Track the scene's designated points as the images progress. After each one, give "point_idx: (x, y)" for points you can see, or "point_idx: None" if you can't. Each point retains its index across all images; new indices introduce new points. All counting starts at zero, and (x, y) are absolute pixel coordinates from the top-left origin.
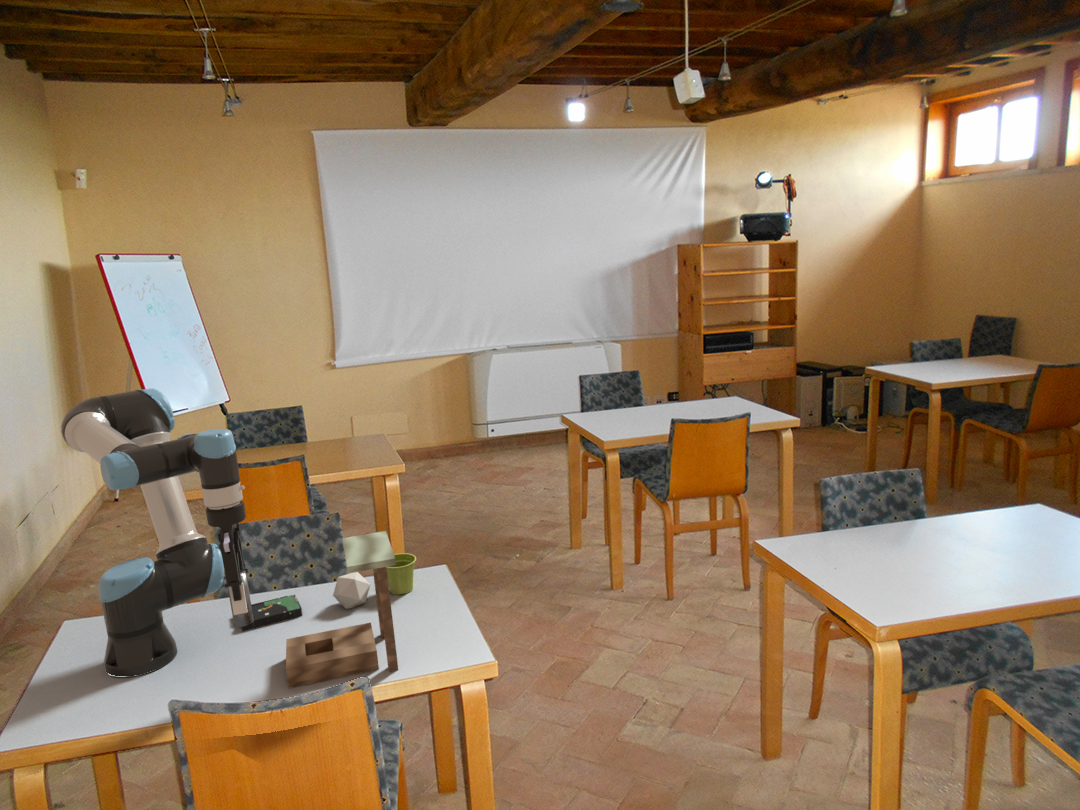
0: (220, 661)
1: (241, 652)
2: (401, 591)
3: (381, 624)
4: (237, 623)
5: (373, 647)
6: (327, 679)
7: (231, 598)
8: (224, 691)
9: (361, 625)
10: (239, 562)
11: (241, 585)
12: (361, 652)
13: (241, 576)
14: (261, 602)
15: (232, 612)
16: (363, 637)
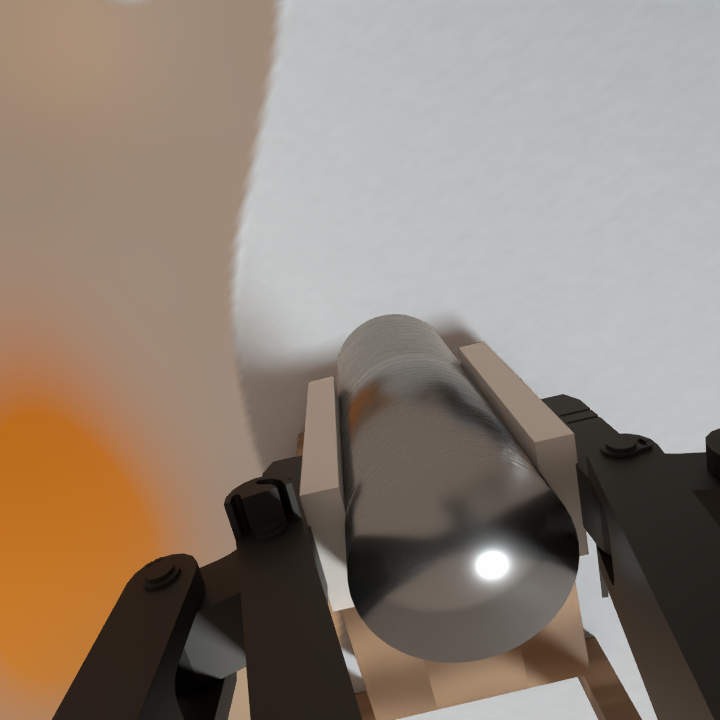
0: (561, 94)
1: (615, 167)
2: None
3: (588, 687)
4: (340, 359)
5: (399, 712)
6: None
7: (305, 437)
8: (312, 201)
9: (577, 648)
10: (641, 651)
11: (329, 589)
12: (372, 684)
13: (387, 641)
14: None
15: (362, 353)
16: (479, 671)
